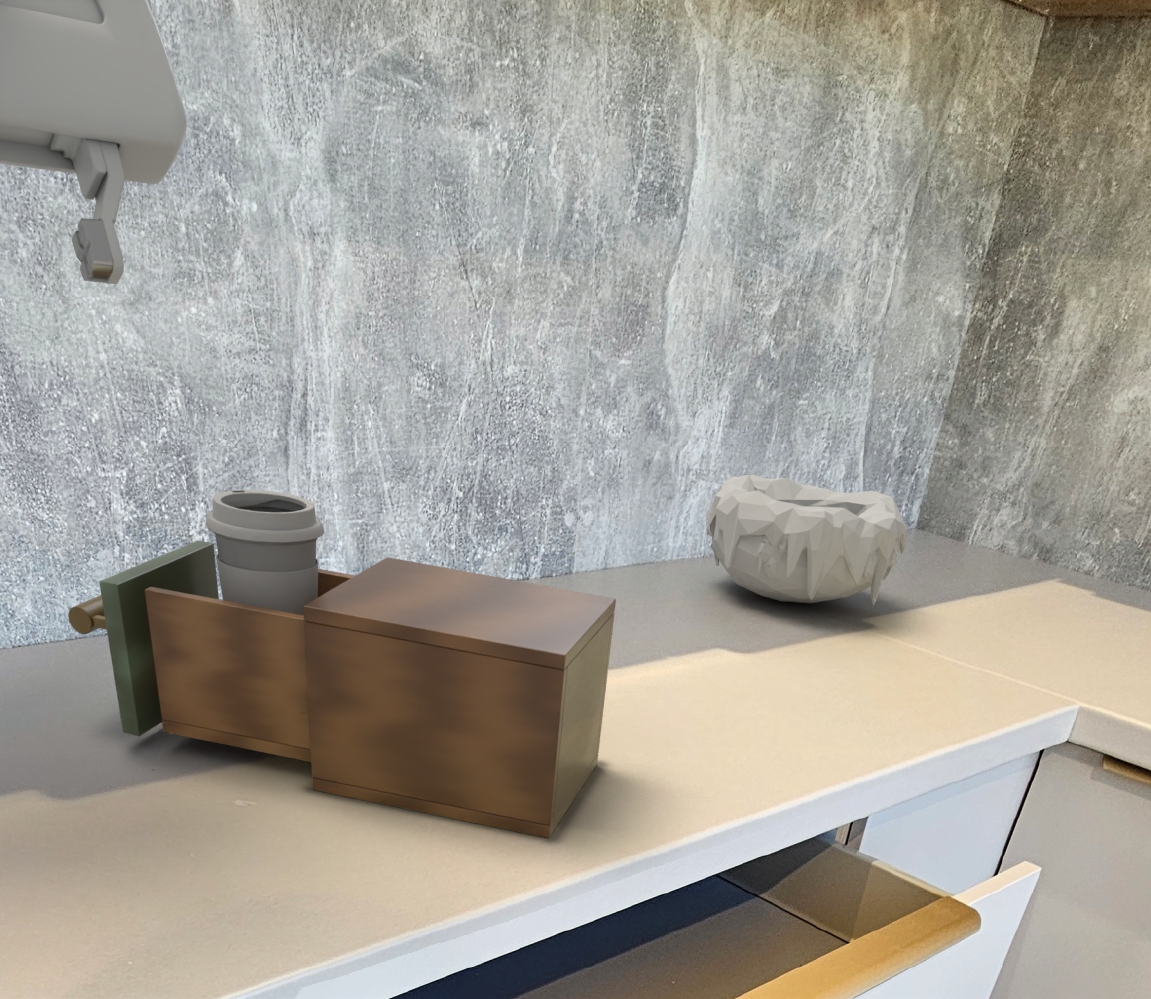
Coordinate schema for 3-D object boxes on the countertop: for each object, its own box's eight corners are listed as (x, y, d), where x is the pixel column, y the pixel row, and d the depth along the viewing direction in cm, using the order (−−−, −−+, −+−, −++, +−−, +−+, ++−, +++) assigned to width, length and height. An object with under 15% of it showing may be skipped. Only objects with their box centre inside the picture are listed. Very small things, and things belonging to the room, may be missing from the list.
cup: (292, 686, 81) (280, 485, 73) (351, 716, 78) (346, 510, 70) (203, 702, 77) (180, 491, 69) (261, 735, 74) (245, 518, 66)
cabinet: (312, 790, 73) (302, 605, 66) (387, 723, 83) (386, 556, 76) (548, 838, 72) (565, 654, 64) (597, 764, 81) (616, 598, 74)
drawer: (61, 720, 75) (32, 568, 69) (156, 668, 84) (138, 529, 78) (334, 776, 73) (328, 624, 67) (402, 716, 82) (402, 577, 76)
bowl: (679, 605, 115) (697, 487, 108) (706, 562, 130) (724, 456, 123) (886, 642, 113) (917, 524, 106) (889, 593, 128) (917, 487, 121)
